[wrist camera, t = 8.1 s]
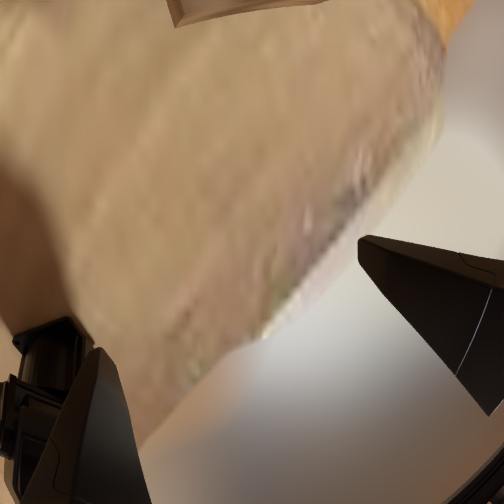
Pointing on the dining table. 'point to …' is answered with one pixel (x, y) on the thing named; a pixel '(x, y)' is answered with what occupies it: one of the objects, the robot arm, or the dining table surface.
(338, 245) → the dining table surface
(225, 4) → the walnut block
